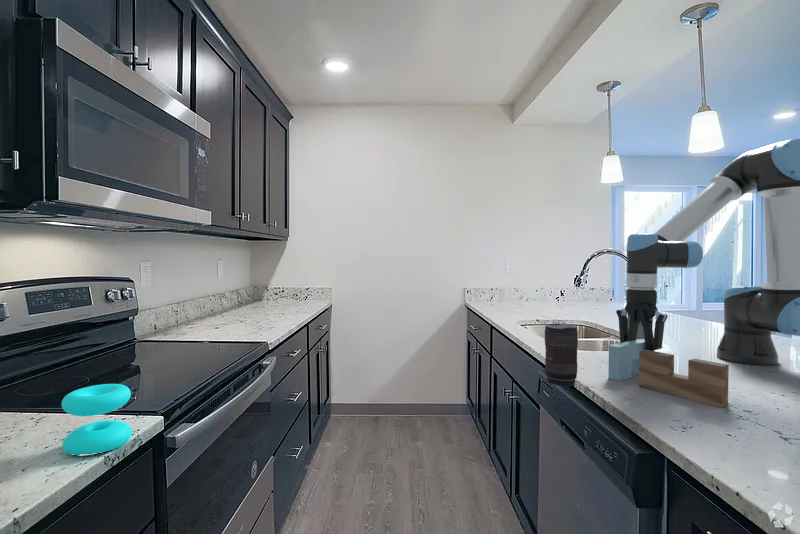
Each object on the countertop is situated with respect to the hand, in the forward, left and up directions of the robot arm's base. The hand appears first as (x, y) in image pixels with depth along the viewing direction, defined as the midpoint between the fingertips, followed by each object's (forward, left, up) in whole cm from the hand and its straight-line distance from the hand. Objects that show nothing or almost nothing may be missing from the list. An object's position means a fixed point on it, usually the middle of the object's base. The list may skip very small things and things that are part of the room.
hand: (639, 371), depth 122 cm
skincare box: (-12, -7, -1) cm, 14 cm away
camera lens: (+27, -6, -1) cm, 27 cm away
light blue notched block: (+5, 0, 0) cm, 5 cm away
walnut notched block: (+12, +16, 0) cm, 20 cm away
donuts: (+127, -26, -1) cm, 129 cm away
